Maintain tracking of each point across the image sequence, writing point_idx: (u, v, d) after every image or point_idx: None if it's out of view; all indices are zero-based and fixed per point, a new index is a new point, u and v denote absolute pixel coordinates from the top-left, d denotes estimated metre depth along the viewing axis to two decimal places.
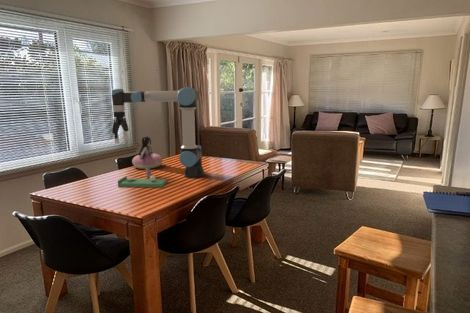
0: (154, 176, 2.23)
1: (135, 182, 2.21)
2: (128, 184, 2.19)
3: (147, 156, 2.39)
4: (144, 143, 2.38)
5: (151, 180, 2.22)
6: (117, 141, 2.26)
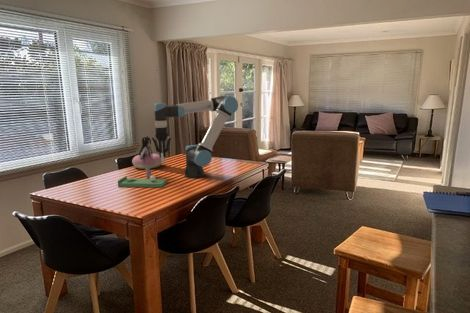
0: (154, 176, 2.23)
1: (135, 182, 2.21)
2: (128, 184, 2.19)
3: (147, 156, 2.39)
4: (144, 143, 2.38)
5: (151, 180, 2.22)
6: None
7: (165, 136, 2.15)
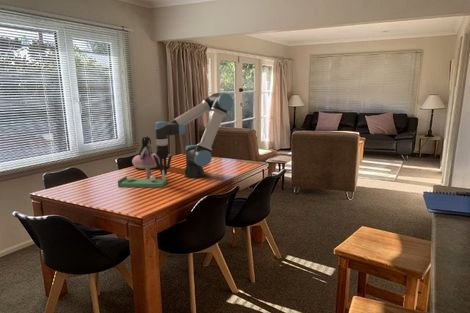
0: (154, 176, 2.23)
1: (135, 182, 2.21)
2: (128, 184, 2.19)
3: (147, 156, 2.39)
4: (144, 143, 2.38)
5: (151, 180, 2.22)
6: None
7: (166, 154, 2.18)
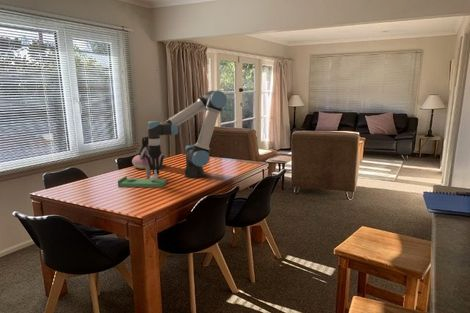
0: (154, 176, 2.23)
1: (135, 182, 2.21)
2: (128, 184, 2.19)
3: None
4: (144, 143, 2.38)
5: (151, 180, 2.22)
6: None
7: (158, 154, 2.18)
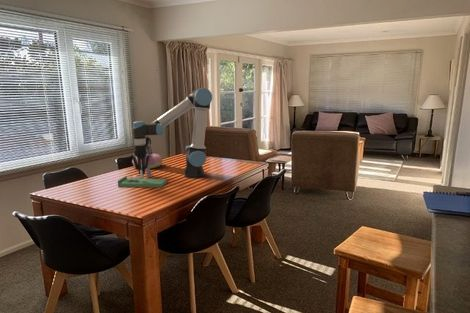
0: (138, 177, 2.23)
1: (135, 182, 2.21)
2: (128, 184, 2.19)
3: None
4: None
5: None
6: None
7: (144, 153, 2.19)
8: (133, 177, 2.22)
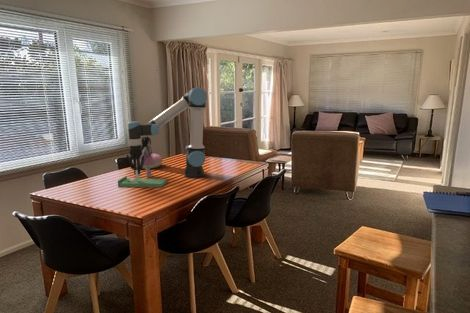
0: None
1: (135, 182, 2.21)
2: (128, 184, 2.19)
3: (147, 156, 2.39)
4: (144, 143, 2.38)
5: (133, 181, 2.23)
6: None
7: (139, 154, 2.19)
8: None
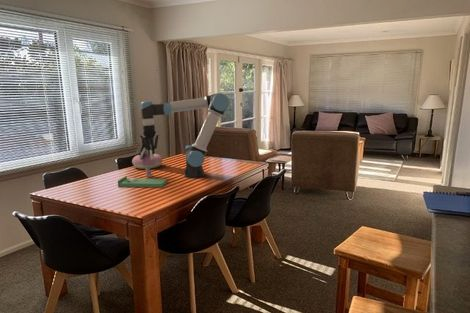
0: (131, 178, 2.25)
1: (135, 182, 2.21)
2: (128, 184, 2.19)
3: (147, 156, 2.39)
4: None
5: (133, 181, 2.23)
6: None
7: (153, 133, 2.20)
8: None
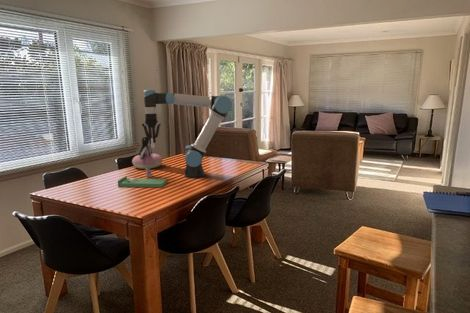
0: (131, 178, 2.25)
1: (135, 182, 2.21)
2: (128, 184, 2.19)
3: (147, 156, 2.39)
4: (144, 143, 2.38)
5: (133, 181, 2.23)
6: None
7: (155, 122, 2.21)
8: None
